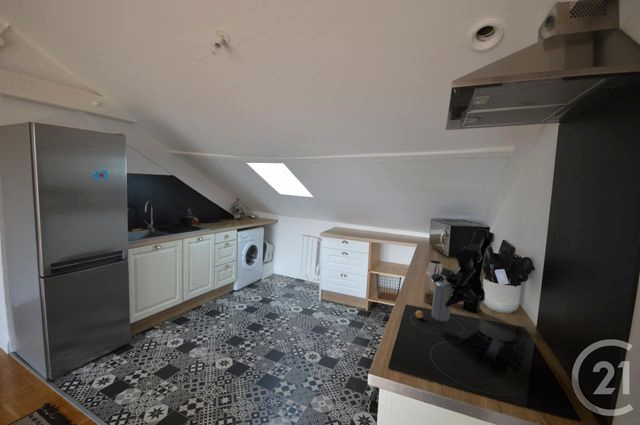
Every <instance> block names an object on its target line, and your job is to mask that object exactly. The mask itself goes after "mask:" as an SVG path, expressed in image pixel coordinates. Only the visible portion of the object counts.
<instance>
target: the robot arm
mask: <svg viewBox="0 0 640 425" xmlns="http://www.w3.org/2000/svg"><path fill="white" fill-rule="evenodd" d="M495 237H496V236H495V234H494V233H493V232H491V231H489V230H487V229H483V228H475V230H474V231H473V235H472V239H471V240H470V243H469V244H467V245H465V246H463V248H462V249H461V250H460V251H458V252H457V253H456V255H455V259H456V262H457V266H458V267H457V268H456V269H452V270H451V269H448V268H445V267H442V271H441V273H440V275H438V274H433V275H432V276H431V278H432V279H433V281H434V284H435V283H436V282H446V283H449V284H451V285H452V289H453V290H454V292H453V293H452V297H451V298H450V299H449V300H448V302H447V303H446V306H447V307H448V306H453V305H456V304H458V303H462V307H461V308H462V309H463V310H466V311H469V312H471V313H473V314H477V313H479V312H481V311H482V308H481V305H482V304H481V303H482V302H483V301H485V300H486V298H485V297H486V292H485V289H484V284H483V282H482V275H483V270H484V265H485V260H486V255H487V251H488V250H489V249H490V248H491V247H492V246H493V243H494V242H495ZM441 275H442V276H441ZM443 276H444V277H443ZM445 279H446V280H447V281H445ZM433 294H434V293H433ZM432 298H433V296H432Z"/></svg>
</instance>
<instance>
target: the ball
mask: <svg viewBox="0 0 640 425" xmlns="http://www.w3.org/2000/svg"><path fill="white" fill-rule="evenodd" d="M414 315H415V316H416V318H418V319H422V318H423V317H424V313H423V312H422V311H421V310H417V311H416V312H415V314H414Z"/></svg>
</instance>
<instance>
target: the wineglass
mask: <svg viewBox="0 0 640 425" xmlns="http://www.w3.org/2000/svg"><path fill="white" fill-rule="evenodd" d="M442 269H443V266H442V262H441V261H438V260H429V261H428V264H427V266H426V271H425V272H426V275H427V276H428V278H429V279H430V280H431V282H432V283H431V289H430V290H431V291H434V285H435V282H434V281H433V279H432V278H431V276H432V275H433V274H438V275H440V273H441V271H442ZM441 276H442V277H443V275H441Z"/></svg>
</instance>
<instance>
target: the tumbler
mask: <svg viewBox="0 0 640 425" xmlns="http://www.w3.org/2000/svg"><path fill="white" fill-rule="evenodd" d="M452 290H453V289H452V285H451V284H449V283H446V282H436V283H435V282H434V286H433V291H434V294H433V304H431V312H430V314H431V317H432V318H433V319H434V320H438V321H440V322H447V321H449V320H450V314H451V308H452V307H451V306H452V305H451V306H448V307H447V306H446V303H447V302H448V300H449V299H450V298H451V297H452V295H453V291H452Z"/></svg>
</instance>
